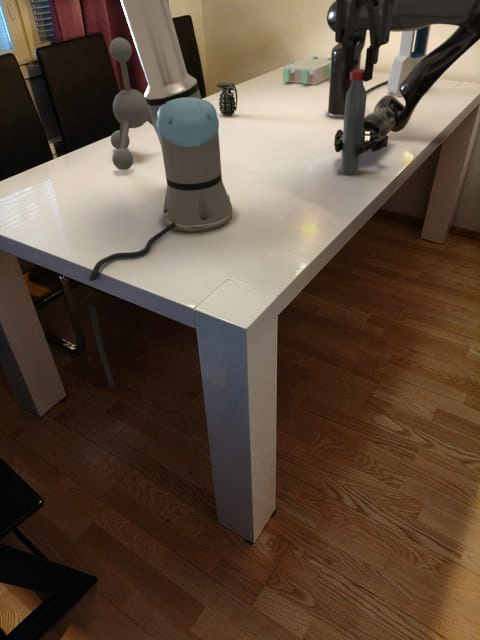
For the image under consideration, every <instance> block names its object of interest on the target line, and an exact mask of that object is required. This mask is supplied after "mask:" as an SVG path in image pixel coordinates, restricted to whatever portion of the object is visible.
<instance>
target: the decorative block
mask: <svg viewBox="0 0 480 640" xmlns="http://www.w3.org/2000/svg"><path fill="white" fill-rule="evenodd" d="M287 64H288V65H286V66H284V68H282V82H287V83H297V84H305V85H318V84H321V83H322V82H324V81H327V80H330V71H331V57H317V56H313V57H310V58H307V59H306V58H305V59H302V60H299V61H296V62H293V61H290V62H288V63H287Z"/></svg>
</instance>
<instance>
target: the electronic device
mask: <svg viewBox="0 0 480 640" xmlns="http://www.w3.org/2000/svg"><path fill="white" fill-rule="evenodd" d="M431 27H432V25H429V26H426V27H424V28H422V29H419V30H415V31H408V32H401V37H400V43H399V50H398V51H399V52H398V54H397V55H396V56H395V57H394V59H393V62H392V66H391V70H390V72H389V73H390V74H389V76H388V80H389V81H388V80H387V81H388V83H387V91H388V92H389V93H390V94H391V95H395V96H397V97H403V96H402V95H401V93H400V90H399V87H400V84H401V83H402V82H403V80H404V79H405V78H406V77H407V75H408V74H409V73H410V72H411V70H412V69H413V68H414V67H415V66H416V64H417V63H418V62H419V61H420V60H421V59H423V58H424V57H425V56H426V55H427V51H428V45H429V39H430V34H431ZM415 33H416V34H415Z"/></svg>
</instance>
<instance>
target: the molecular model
mask: <svg viewBox="0 0 480 640" xmlns="http://www.w3.org/2000/svg"><path fill="white" fill-rule="evenodd" d="M109 53H110V55H111V57H112V59H113V60H115V61H116V62H118V63H120V70H121V76H122V81H123V86H124V89H123V90H121V91H119V92H118V93H117V94H116V95H115V97H114V99H113V102H112V112H113V115H114V117H115V119H116V121H117V122H118V123H120V127H119V129H118V130H115V131H114V132H113V133H111V136H110V144H111V145H112V147H113V148H114V149H115V151H114V152H113V153H112V156H111V160H112V163H113V165H114V167H115V168H117V169H118V170H121V171H128V170H129V169H131V167H132V166H133V164H134V156H133V153H131V151H130V150H128V147H129V146H130V141H131V140H130V136H129V133H130V129H138V128H141V127H142V126H144V125H145V123H147V122H148V123H149V124H150V125H151V126H153V122H152V117H151V114H150V111H149V108H148V105H147V102H146V99H145V96H144V94H143V93H142V92H140V91H139V90H137V89H134V88H131V83H130V77H129V72H128V65H127V62H128V61H129V60H130V59H131V57H132V54H133V49H132V45H131V44H130V42H129V41H128V40H127V39H126V38H123V37H116V38H114V39H112V40H111V42H110V44H109Z"/></svg>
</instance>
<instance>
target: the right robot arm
mask: <svg viewBox="0 0 480 640" xmlns="http://www.w3.org/2000/svg"><path fill="white" fill-rule="evenodd" d="M384 1H385V0H379V25H380V28H381V20H382V12H383V5H384ZM350 4H351V0H347V15H346V25H347V21H348V17H349V13H350V10H349V8H350ZM336 9H337V2H336V0H334V1H333V2H332V3H331V5H330V6H329V8H328V10H327V13H326V23H327V25H328V27H329V29H330V30H331V31H332V32H334V33H335V30H336ZM429 25H431V26H432V25H447V26H448V25H449V26H457V28H456V30H454V32H452V34H450V36H448V37H447V39H446V40H444V41H443V42H442V43H441V44H439V45H438V46H437V47H435V48H434V49H432V50H431V51H430V52H429V53H426V56H425V57H424V58H423V59H421V60H420V61H419V62H418V63H417V64H416V66H415V67H414V68H413V69H412V70H411V72H410V73H409V74H408V75H407V77H406V78H405V79H404V80H403V82H402V83H401V84H400V87H399V90H400V93H401V95H402V96H401V97H402V99H404V102H405V105H404V104H403V103H402V102H401V101H400V100H399V99H398V98H397V97H395V96H394V95H393V94H386V95H384V96H382V97H381V98H380V99H379V100H378V101H377V103H376V104H375V106H374V108H373V112H371V113H369V114H367V115H365V117H364V126H363V136H362V143H361V144H359V145H358V146H357V151H356V155H360V154H361V155H363V154H364V153H367V152H369V151H370V152H372V153H375V152H378V151H380V150H382V149H384V148H386V147H388V143H389V135H388V134H389V133H390V132H392V133H398V132H401V131H402V130H404V129H405V128H406V127H407V125H408V123H409V121H410V120H411V117H412V116H413V113H414V111H415V109H416V108H417V106H418V105H419V103H420V101H421V100H422V99H423V97H425V95H426V94H427V93H428V92H429V91H430V90H431V88H432V87H433V85H435V84H436V82H437V81H438V80H439V79H440V78H441V77H442V76H443V75H444V73H445V72H446V71H448V69H449V68H450V67H452V65H453V64H454V63H455V62H457V61H458V60H459V59H460V58H461V57H462V56H463V55H464V54H465V53H466V52H468V51H469V50H470V49H471V48H472V47H473V46H474V45H475V44H477V42H479V40H480V0H395V2H394V8H393V15H392V22H391V29H390V33H392V32H393V33H400V32H401V33H402V32H408V31H415V32H416V31H417V30H419V29H422V28H424V27H426V26H429ZM368 31H369V20H368V12H367V9H366V7H365V6H362V9H361V11H360V14H359V17H358V21H357V25H356V29H355V33H354V37H353V40H352V41H353V44H351V45H355V51H354V63H353V70H354V69H361V61H362V54H363V53H362V52H363V50H364V48H365V45H366V39H367V32H368ZM342 51H343V46H342V44H340V43H336V44H335V45H334V46H333V47H332V49H331V54H330V56H331V57H330V58H331V71H330V78H329V87H328V88H329V90H328V106H327V116H328V117H330V118H333V119H344V114H345V101H346V94H347V91H348V89H349V88H350V86H351V84H352V80H350V79H344V68H345V62H342ZM388 81H389V79H387V80H386V81H383V82H381V83H379V84H376V85H374V86H371V87H370V88H369V89H366V92H367V93H366V94H368V93H369V92H371V91H373V90H375V89H376V88H379V87H382V86H384V85H386V84H388ZM342 139H343V129H341V128H339V129H337V131H336V132H335V134H334V141H333V147H334V151H335V153H340V152H342ZM361 155H360V156H361Z"/></svg>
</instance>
